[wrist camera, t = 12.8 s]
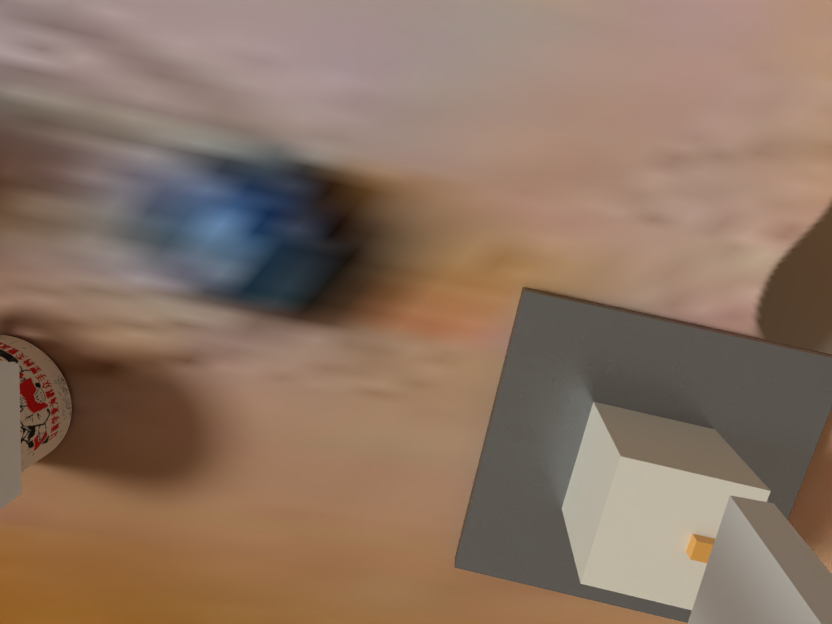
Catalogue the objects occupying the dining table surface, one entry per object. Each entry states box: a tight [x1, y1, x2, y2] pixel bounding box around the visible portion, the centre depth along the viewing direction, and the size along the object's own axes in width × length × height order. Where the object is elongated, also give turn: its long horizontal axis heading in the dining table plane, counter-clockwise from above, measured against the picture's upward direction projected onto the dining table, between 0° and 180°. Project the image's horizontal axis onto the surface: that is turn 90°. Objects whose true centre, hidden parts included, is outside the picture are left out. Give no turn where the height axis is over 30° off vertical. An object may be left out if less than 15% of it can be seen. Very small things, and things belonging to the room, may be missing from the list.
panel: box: [455, 287, 832, 623], centre depth 35 cm, size 18×18×6 cm
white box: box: [562, 402, 771, 610], centre depth 33 cm, size 7×7×8 cm
